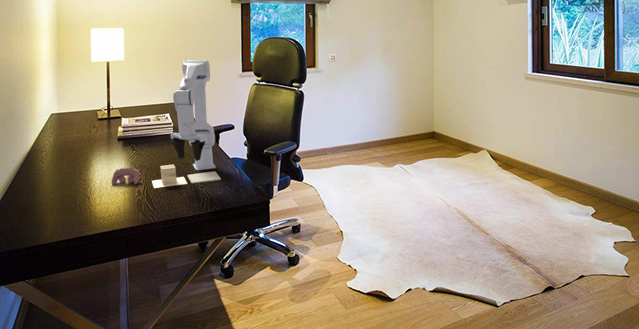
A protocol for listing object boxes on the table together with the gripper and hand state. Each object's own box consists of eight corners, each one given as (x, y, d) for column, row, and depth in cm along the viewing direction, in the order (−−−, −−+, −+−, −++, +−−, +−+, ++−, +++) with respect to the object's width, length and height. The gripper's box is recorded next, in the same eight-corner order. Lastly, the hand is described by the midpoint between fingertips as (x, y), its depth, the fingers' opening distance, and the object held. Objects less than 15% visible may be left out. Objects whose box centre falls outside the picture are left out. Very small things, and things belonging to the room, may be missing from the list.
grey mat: (187, 176, 198) (187, 174, 198) (215, 172, 202) (215, 171, 202) (191, 183, 188) (191, 182, 188) (220, 180, 192) (220, 178, 192)
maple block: (161, 181, 192) (160, 166, 190) (175, 179, 194) (173, 164, 192) (163, 184, 187) (161, 169, 186) (177, 183, 189) (175, 167, 188)
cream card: (151, 181, 193) (151, 180, 193) (183, 177, 197) (183, 176, 197) (154, 188, 184) (154, 187, 184) (187, 184, 188) (187, 183, 188)
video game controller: (140, 186, 193) (141, 168, 194) (136, 184, 188) (137, 165, 189) (114, 187, 192) (115, 169, 194) (110, 185, 188) (110, 166, 189)
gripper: (163, 123, 182) (167, 159, 186) (194, 126, 176) (198, 163, 179) (176, 120, 188) (180, 155, 192) (207, 122, 182) (210, 158, 185)
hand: (189, 159), depth 186 cm, fingers open, 7 cm apart
